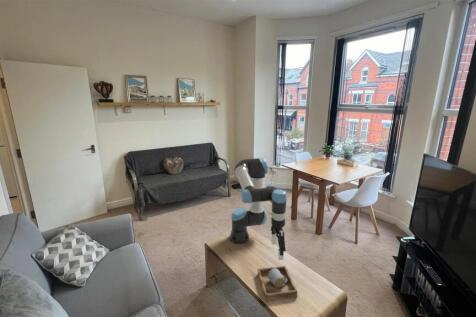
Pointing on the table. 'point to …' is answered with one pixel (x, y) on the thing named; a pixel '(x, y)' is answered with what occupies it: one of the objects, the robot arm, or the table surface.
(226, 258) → the table surface
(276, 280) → the ceramic mug
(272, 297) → the crate
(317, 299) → the table surface
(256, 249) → the table surface
